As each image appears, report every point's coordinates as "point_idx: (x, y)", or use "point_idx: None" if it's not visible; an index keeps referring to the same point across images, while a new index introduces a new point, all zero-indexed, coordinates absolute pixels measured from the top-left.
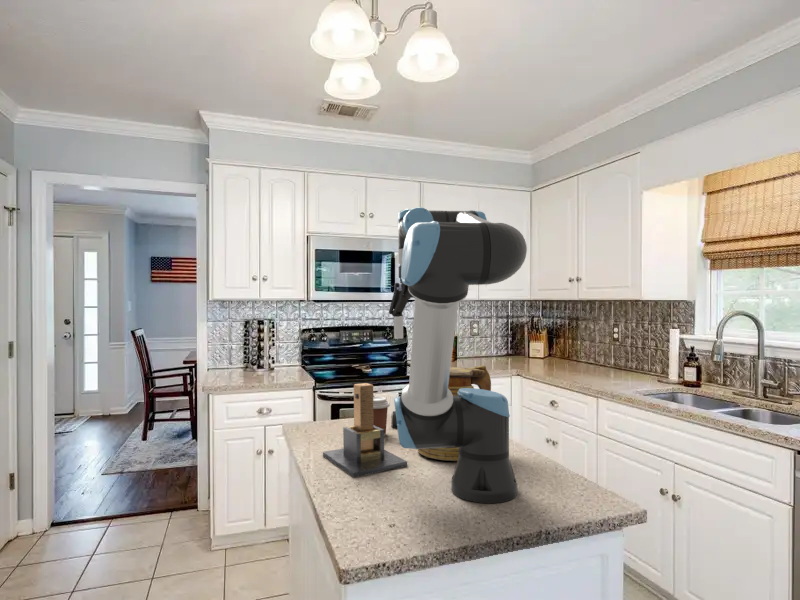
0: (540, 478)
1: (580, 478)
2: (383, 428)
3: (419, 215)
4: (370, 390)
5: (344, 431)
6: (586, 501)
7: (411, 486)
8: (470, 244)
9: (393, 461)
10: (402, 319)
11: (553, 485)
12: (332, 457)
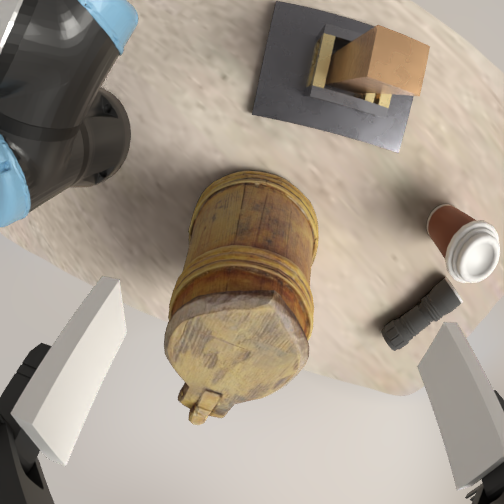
0: (80, 234)
1: (61, 268)
2: (432, 230)
3: None
4: (364, 66)
5: None
6: None
7: (168, 53)
8: None
9: (272, 94)
10: (455, 468)
11: (58, 224)
12: None
